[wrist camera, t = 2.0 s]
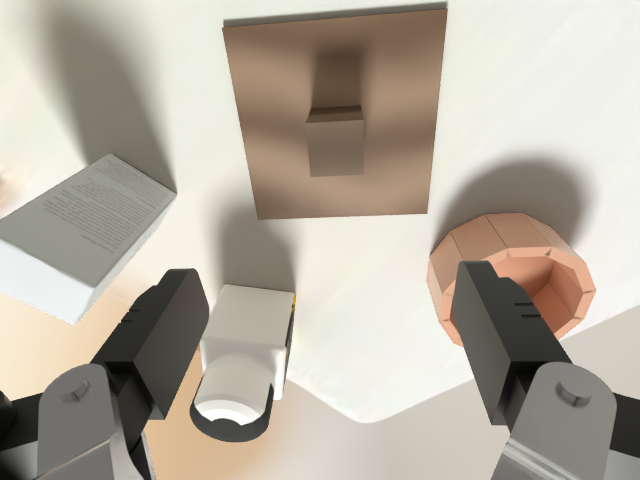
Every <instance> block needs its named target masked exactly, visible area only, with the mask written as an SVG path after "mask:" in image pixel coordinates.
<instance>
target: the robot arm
mask: <svg viewBox="0 0 640 480" xmlns="http://www.w3.org/2000/svg"><path fill="white" fill-rule="evenodd" d="M453 316H454V320H455V324H456V326H457V329H458V332H459V335H460V338H461V340H462V343H463V346H464V349H465V352H466V355H467V357H468V360H469V363H470V366H471V369H472V371H473V374H474V377H475V380H476V383H477V386H478V388H479V391H480V394H481V397H482V400H483V402H484V405H485V408H486V411H487V414H488V417H489V419H490V422H491V425H507V426H508V429H509V431H510V434H511V435H510V437H509V439H508V442H507V443H506V445H505V447H504V449H503V452H502V454H501V456H500V459H499V461H498V464H497V466H496V469H495V471H494V474H493V476H492V478H491V480H640V400H638V399H634V398H630V397H626V396H623V395H620V394H616V393H614V392H612V391H611V390H610V388H609V387H608V386H607V385H606V384H605V383H604V382H603V381H602V380H601V379H600V378H598V377H597V376H596V375H595V374H593V373H591V372H590V371H588V370H586V369H584V368H582V367H579V366H577V365H574V364H573V363H572V361H571V360H570V358H569V357H568V355H567V354H566V352H565V351H564V350H563V348H562V346H561V345H560V343H559V341H558V340H557V338H556V337H555V335H554V334H553V332H552V331H551V329H550V328H549V326H548V325H547V323H546V322H545V320H544V318H541V314H540V312H539V311H538V309H537V308H536V306H534V305H533V302H532V300H531V298H530V297H529V295H528V294H527V292H526V291H525V289H524V288H522V287H521V286H520V285H518V284H517V283H516V282H515V281H513V280H512V279H511V278H509V277H498V275H497V273H496V272H495V270H494V268H493V266H492V265H491V263H490V262H489V261H488V260H478V261H460V262H459V265H458V270H457V276H456V283H455V289H454V296H453ZM208 320H209V305H208V302H207V299H206V296H205V293H204V290H203V287H202V284H201V281H200V278H199V275H198V272H197V271H196V270H195V269H193V268H191V269H170V270H168V271H167V272H166V273H165V275H164V276H163V278H162V279H161V280H160V282H159V283H158V285H157V286H152V287H150V288H149V289H148V290H147V291H145V292H144V293H143V294H141V295H140V296H139V297H138V298H137V299H136V301H135V302H134V304H133V305H132V306H131V308H130V309H129V312H127V313H126V315H125V316H124V317H123V319H122V320H121V323H119V324H118V325H117V327H116V328H115V329H114V331H113V332H112V333H111V335H110V336H109V337H108V339H107V340H106V342H105V343H104V344H103V346H102V347H101V348H100V350H99V351H98V353H97V354H96V355H95V356H94V358H93V359H92V361H91V362H90V363H89V364H84V365H81V366H77V367H75V368H72V369H70V370H69V371H67V372H65V373H63V374H62V375H60V376H59V377H58V378H56V379H55V380H54V381H53V382H52V383H51V384H50V385H49V386H48V387H47V388H46V390H45V391H44V392H43V393H40V394H36V395H32V396H28V397H25V398H21V399H17V400H14V401H10V400H9V399H8V398H7V397H6V396H5V395H4V394H3V392H1V391H0V480H156V477H155V473H154V468H153V465H152V460H151V456H150V452H149V448H148V444H147V440H146V436H145V433H144V432H143V429H144V427H145V425H146V423H147V421H148V420H165V418H166V416H167V414H168V411H169V409H170V407H171V405H172V402H173V400H174V398H175V396H176V393H177V391H178V389H179V387H180V384H181V382H182V380H183V378H184V376H185V373H186V371H187V369H188V367H189V364H190V362H191V360H192V357H193V355H194V353H195V351H196V349H197V347H198V344H199V342H200V340H201V338H202V335H203V333H204V331H205V329H206V326H207V324H208Z"/></svg>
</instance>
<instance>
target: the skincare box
mask: <svg viewBox="0 0 640 480" xmlns="http://www.w3.org/2000/svg"><path fill="white" fill-rule="evenodd" d="M176 197H177V194H176V193H174V192H172V191H171V190H169V189H167V188H166V187H164V186H163V185H161V184H159V183H158V182H156V181H155V180H153V179H151V178H150V177H148V176H146V175H145V174H143V173H142V172H140V171H138V170H137V169H135V168H134V167H132V166H130V165H129V164H127V163H126V162H124V161H122V160H121V159H119V158H117V157H116V156H114V155H113V154H111V153H109V154H107V155H105V156H104V157H102V158H100V159H99V160H97V161H96V162H94V163H92V164H91V165H89V166H87V167H86V168H84V169H82V170H81V171H79V172H78V173H76V174H74V175H73V176H71V177H69V178H68V179H66V180H64V181H63V182H61V183H59V184H58V185H56V186H55V187H53V188H51V189H50V190H48V191H46V192H45V193H43V194H42V195H40V196H38V197H37V198H35V199H33V200H32V201H30V202H28V203H27V204H25V205H24V206H22V207H20V208H19V209H17V210H15V211H14V212H12V213H11V214H9V215H7V216H6V217H4V218H2V219H1V220H0V292H2V293H4V294H6V295H9V296H11V297H13V298H15V299H17V300H19V301H22V302H24V303H26V304H28V305H30V306H32V307H34V308H37V309H39V310H41V311H43V312H45V313H47V314H50V315H52V316H54V317H56V318H58V319H61V320H63V321H65V322H67V323H69V324H71V325H76V324H77V323H78V322H79V321H80V319H81V318H82V317H83V316H84V315H85V313H86V312H87V311H88V310H89V309H90V307H91V306H92V305H93V304H94V303H95V302H96V300H97V299H98V298H99V297H100V296H101V294H102V293H103V292H104V291H105V290H106V288H107V287H108V286H109V285H110V284H111V283H112V281H113V280H114V279H115V278H116V277H117V275H118V274H119V273H120V272H121V271H122V270H123V268H124V267H125V266H126V265H127V264H128V262H129V261H130V260H131V259H132V258H133V257H134V255H135V254H136V253H137V252H138V251H139V250H140V248H141V247H142V246H143V245H144V244H145V242H146V241H147V240H148V239H149V238H150V237H151V235H152V234H153V233H154V232H155V231H156V230H157V228H158V227H159V225H160V224H161V222H162V220H163V219H164V217H165V215H166V214H167V212H168V210H169V209H170V207H171V205H172V204H173V202H174V200H175V199H176Z"/></svg>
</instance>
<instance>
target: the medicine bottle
mask: <svg viewBox="0 0 640 480" xmlns="http://www.w3.org/2000/svg"><path fill="white" fill-rule="evenodd" d="M295 301H296V295H295V293H293V292H285V291H277V290H269V289H261V288H253V287H245V286H237V285H229V284H225V285H224V286H223V287H222V290H221V292H220V294H219V296H218V298H217V301H216V303H215V305H214V307H213V310H212V312H211V314H210V316H209V320H208V324H207V326H206V329H205V331H204V333H203V335H202V338H201V340H200V349H201V358H202V368H203V376H202V379H201V381H200V384H199V386H198V389H197V391H196V394H195V396H194V399H193V401H192V404H191V406H190V417H191V419H192V421H193V423H194V425H195V426H196V427H197V428H198V429H199V430H200V431H201V432H203V433H205V434H206V435H208V436H210V437H212V438H215V439H218V440H221V441H225V442H246V441H250V440H253V439H255V438H257V437H259V436H260V435H261V434H262V433H264V432H265V431H266V429H267V427H268V424H269V418H270V413H271V408H272V403H273V399H275V400H279V399H281V398H282V395H283V389H284V383H285V378H286V372H287V366H288V360H289V354H290V348H291V342H292V332H293V321H294V311H295Z"/></svg>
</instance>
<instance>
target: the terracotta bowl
mask: <svg viewBox="0 0 640 480" xmlns="http://www.w3.org/2000/svg"><path fill="white" fill-rule="evenodd" d="M478 260H488V261H489V262H490V263H491V265H492V266H493V268H494V270H495V272H496V273H497V275H498V277H509V278H511V279H512V280H513V281H515V282H516V283H517V284H518V285H520V286H521V287H522V288H524V289H525V291H526V292H527V294H528V295H529V297H530V298H531V300H532V302H533V305H534V306H536V308H537V309H538V311H539V312H540V314H541V318H544V320H545V322H546V323H547V325H548V326H549V328H550V329H551V331H552V332H553V334H554V335H555V337H556V338H557V340H559V339H560V338H561V337H563V336H564V335H565V334H566V333H568V332H569V331H570V330H571V329H573V328H574V327H575V326H576V325H578V324H579V323H580V322H581V321H583V319H584V318H585V316H586V313H587V311H588V309H589V306H590V304H591V302H592V299H593V297H594V294H595V292H596V288H595V286H594V283H593V281H592V278H591V275H590V273H589V270H588V268H587V265H586V263H585V262H584V261H583V260H582V259H581V258H580V257H579V256H578V255H577V254H576V252H575V251H574V250H573V249H572V248H571V247H570V246H569V245H568V244H567V243H566V242H565V241H564V240H563V239H562V238H561V237H560V236H559V235H558V234H557V233H556V232H555V231H554V230H553V229H552V228H551V227H550V226H548V225H546V224H544V223H542V222H540V221H538V220H536V219H534V218H532V217H530V216H528V215H526V214H524V213H522V212H521V213H498V214H483V215H481V216H479V217H477V218H475V219H473V220H471V221H469V222H467V223H465V224H463V225H461V226H459V227H457V228H455V229H453V230H451V231H449V233H448V234H447V235H446V236H445V238H444V239H443V240H442V241H441V243H440V244H439V245H438V246H437V248H436V249H435V250H434V251H433V253H432V254H431V255H430V257H429V266H428V277H427V284H428V288H429V291H430V294H431V297H432V301H433V304H434V307H435V311H436V314H437V317H438V321H439V323H440V324H441V326H442V327H443V328H444V330H445V331H446V333H447V334H448V336H449V337H450V338H451V340H452V341H453V343H454V344H457V345H459V346H462V347H464V346H463V343H462V340H461V338H460V335H459V332H458V329H457V326H456V324H455V320H454V316H453V296H454V289H455V283H456V276H457V270H458V265H459V262H460V261H478Z"/></svg>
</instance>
